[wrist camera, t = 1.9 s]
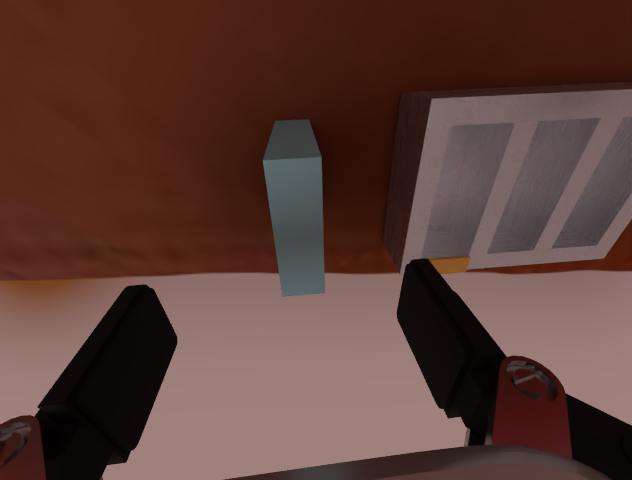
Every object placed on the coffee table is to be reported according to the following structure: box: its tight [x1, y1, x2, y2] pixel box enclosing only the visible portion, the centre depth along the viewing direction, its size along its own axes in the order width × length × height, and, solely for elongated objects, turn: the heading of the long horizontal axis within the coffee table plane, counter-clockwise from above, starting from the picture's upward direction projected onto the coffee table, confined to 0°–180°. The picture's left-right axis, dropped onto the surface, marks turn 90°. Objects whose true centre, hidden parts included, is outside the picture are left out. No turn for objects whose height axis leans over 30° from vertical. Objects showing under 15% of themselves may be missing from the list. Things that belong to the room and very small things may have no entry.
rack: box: [382, 81, 632, 275], centre depth 21 cm, size 18×13×5 cm
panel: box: [263, 119, 325, 296], centre depth 18 cm, size 2×8×10 cm, turn 2°
